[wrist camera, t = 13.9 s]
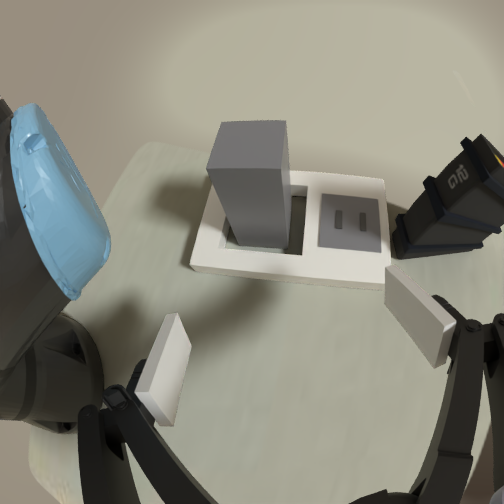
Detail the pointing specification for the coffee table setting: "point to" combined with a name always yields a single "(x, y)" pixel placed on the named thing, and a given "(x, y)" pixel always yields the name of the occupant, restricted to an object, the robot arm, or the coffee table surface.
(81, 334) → the robot arm
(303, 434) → the coffee table surface
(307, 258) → the white flat rectangular frame
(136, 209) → the coffee table surface
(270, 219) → the grey tall block
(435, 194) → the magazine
